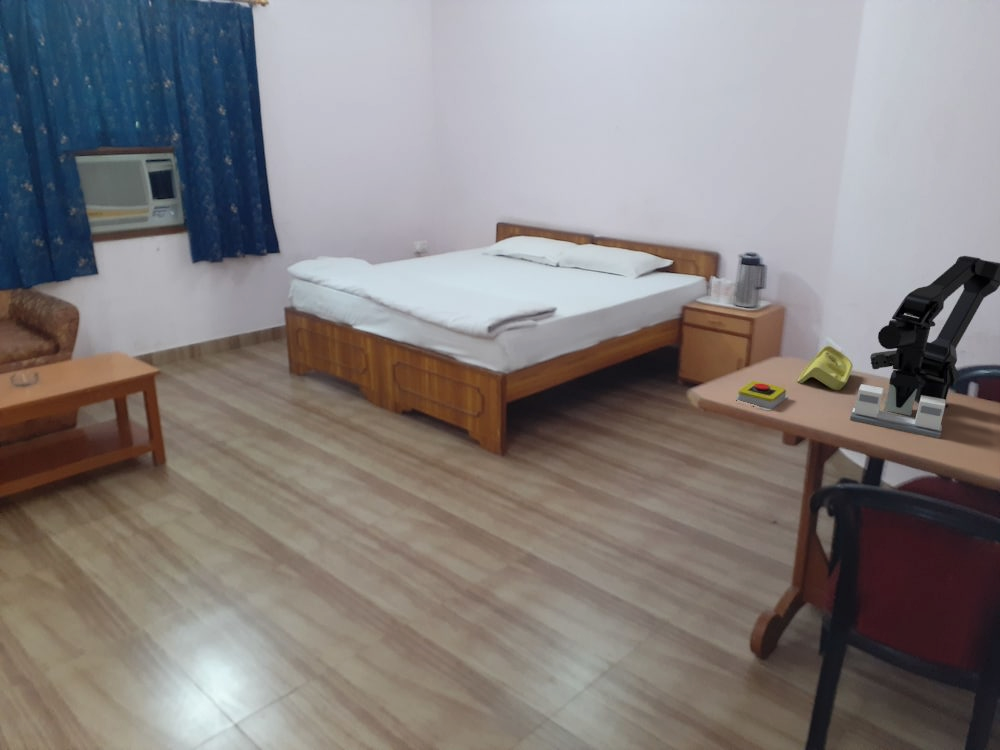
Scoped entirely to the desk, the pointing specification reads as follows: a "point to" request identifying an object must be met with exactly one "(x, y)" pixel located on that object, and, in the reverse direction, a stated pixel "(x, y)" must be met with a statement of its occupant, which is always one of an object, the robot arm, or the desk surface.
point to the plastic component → (828, 368)
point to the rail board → (922, 424)
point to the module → (891, 402)
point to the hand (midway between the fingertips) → (899, 404)
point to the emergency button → (762, 395)
